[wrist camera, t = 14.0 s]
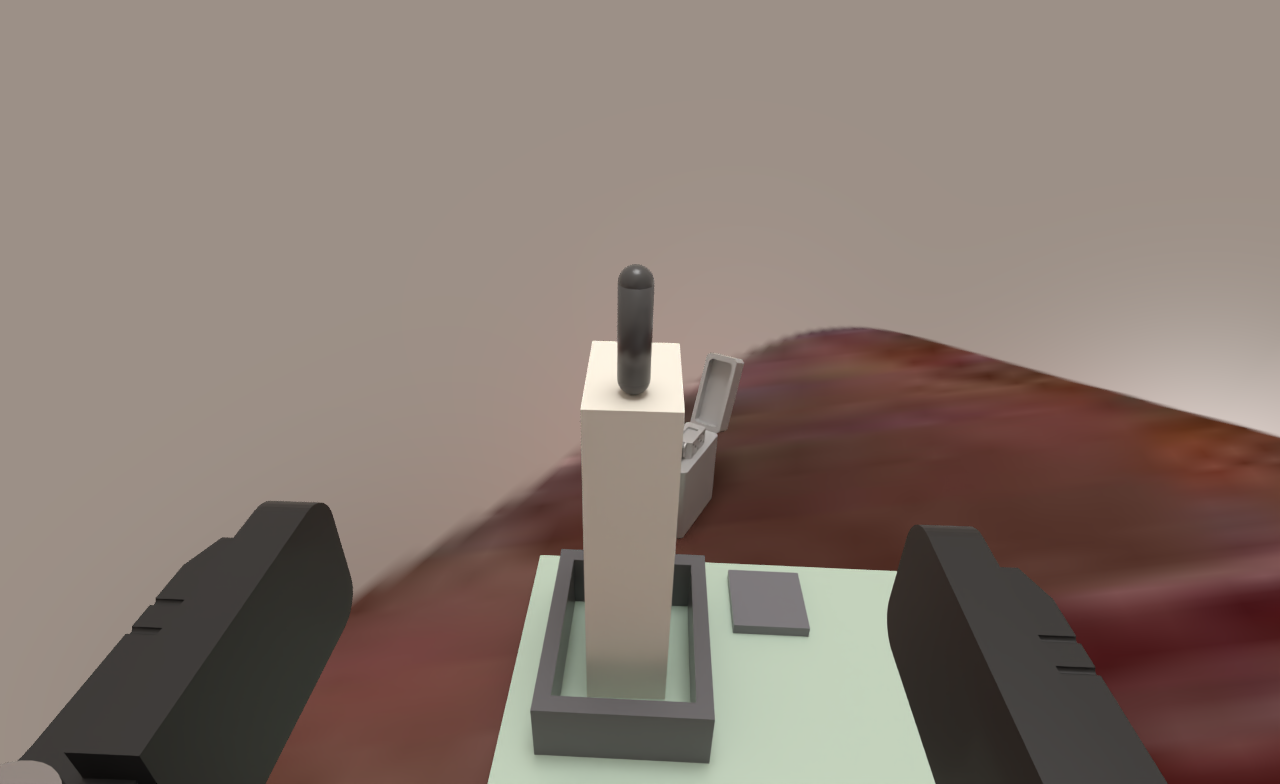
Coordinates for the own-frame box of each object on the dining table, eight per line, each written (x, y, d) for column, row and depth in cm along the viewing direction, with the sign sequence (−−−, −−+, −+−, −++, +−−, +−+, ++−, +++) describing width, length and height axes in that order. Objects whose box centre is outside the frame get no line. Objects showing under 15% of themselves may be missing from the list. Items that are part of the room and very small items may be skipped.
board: (911, 590, 33) (930, 532, 31) (1024, 864, 22) (1061, 801, 21) (541, 573, 33) (537, 515, 31) (483, 835, 23) (472, 771, 21)
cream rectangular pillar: (663, 608, 30) (686, 229, 21) (664, 699, 26) (693, 280, 17) (595, 606, 30) (591, 226, 21) (587, 696, 26) (577, 277, 17)
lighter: (681, 539, 35) (690, 409, 31) (651, 528, 36) (657, 399, 32) (732, 469, 41) (745, 351, 37) (706, 460, 42) (716, 343, 38)
